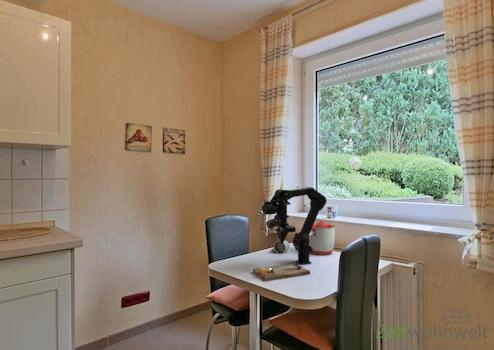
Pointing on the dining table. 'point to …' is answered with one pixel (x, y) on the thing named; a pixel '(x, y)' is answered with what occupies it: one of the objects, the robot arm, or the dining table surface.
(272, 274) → the tong board
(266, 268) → the tong arm
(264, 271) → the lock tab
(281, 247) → the ceramic mug
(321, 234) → the citrus juicer
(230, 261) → the dining table surface
